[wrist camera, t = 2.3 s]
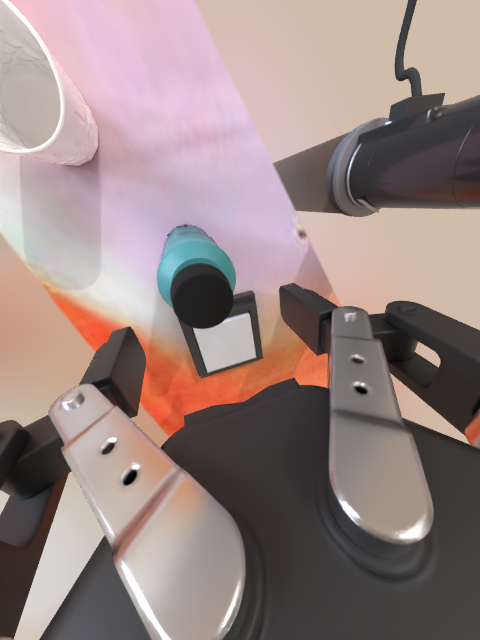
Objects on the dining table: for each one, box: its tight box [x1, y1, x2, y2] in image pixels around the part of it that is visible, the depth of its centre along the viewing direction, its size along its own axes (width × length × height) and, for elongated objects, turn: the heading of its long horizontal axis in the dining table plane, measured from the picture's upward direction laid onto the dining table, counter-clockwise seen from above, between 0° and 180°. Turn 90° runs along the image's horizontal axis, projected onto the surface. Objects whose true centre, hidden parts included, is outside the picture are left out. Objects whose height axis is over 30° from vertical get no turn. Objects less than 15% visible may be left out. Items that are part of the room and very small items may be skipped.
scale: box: [178, 291, 263, 378], centre depth 37 cm, size 14×13×3 cm
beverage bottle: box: [157, 224, 236, 329], centre depth 21 cm, size 6×7×20 cm
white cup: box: [0, 0, 98, 166], centre depth 17 cm, size 8×8×10 cm
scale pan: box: [193, 312, 256, 373], centre depth 36 cm, size 9×9×2 cm
